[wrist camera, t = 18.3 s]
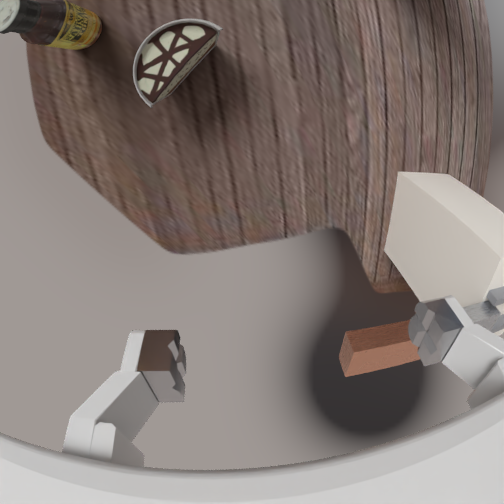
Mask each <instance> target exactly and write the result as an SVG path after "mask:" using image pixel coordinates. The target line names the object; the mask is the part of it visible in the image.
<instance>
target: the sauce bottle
mask: <svg viewBox="0 0 504 504" xmlns="http://www.w3.org/2000/svg"><path fill="white" fill-rule="evenodd" d="M101 30H102V24H101V20H100V18H99V16H97V15H96V14H95V13H93V12H91V11H89V10H87V9H84V8H82V7H80V6H77V5H75V4H73V3H70V2H68V1H65V0H36V1H34V0H3V1H1V2H0V33H3V34H5V33H8V32H16V33H19V34H20V36H21V38H22V39H23V40H24V41H26V42H28V43H31V44H38V45H41V46H51V47H58V48H66V49H73V50H77V49H85V48H87V47H89V46H91V45H92V44H93V43H95V41H96V40H97V39H98V37H99V35H100V33H101Z"/></svg>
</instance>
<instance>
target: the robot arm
mask: <svg viewBox="0 0 504 504" xmlns="http://www.w3.org/2000/svg"><path fill="white" fill-rule="evenodd" d="M415 313H416V314H415V315H414V316H413V317H412V318H411V320H410V322H409V325H408V334H409V337H410V340H411V342H412V344H414V345H416V346H417V347H418V351H417V353H418V355H419V357H420V359H421V361H422V363H423V364H424V366H427V365H431V364H434V363H438V362H441V361H442V363H443V364H444V365H445V366H447V367H448V368H449V369H451V371H453V372H454V373H455V374H456V375H458V376H459V377H460V378H461V379H462V380H464V381H465V382H466V383H467V384H468V385H469V386H471V387H472V388H473V389H474V391H473V392H472V393H471V395H470V396H469V397H468V399H467V401H468V404H469V406H470V408H471V410H469V411H467V412H465V413H462V414H460V415H458V416H456V417H454V418H451V419H449V420H447V421H445V422H442V423H440V424H438V425H435V426H432V427H430V428H427V429H425V430H422V431H420V432H417V433H414V434H411V435H409V436H406V437H403V438H400V439H397V440H394V441H391V442H387V443H384V444H381V445H377V446H374V447H370V448H367V449H363V450H360V451H355V452H351V453H347V454H343V455H338V456H333V457H329V458H324V459H319V460H313V461H308V462H301V463H294V464H287V465H279V466H270V467H260V468H249V469H229V470H180V469H163V468H150V467H144V455H143V453H142V452H141V451H140V450H139V449H138V448H136V447H135V446H134V445H133V444H132V443H131V442H132V441H133V439H134V438H135V437H136V435H137V434H138V432H139V431H140V429H141V428H142V427H143V425H144V424H145V422H146V421H147V420H148V419H149V417H150V416H151V414H152V413H153V412H154V410H155V409H156V407H157V406H158V405H159V403H158V402H184V394H185V383H184V381H183V378H182V377H183V376H184V375H185V374H186V356H185V351H184V347H183V346H182V345H180V335H179V332H178V330H132V331H131V333H130V334H129V337H128V341H127V345H126V349H125V353H124V357H123V361H122V365H121V369H120V371H115V372H114V373H113V374H112V375H111V376H110V377H109V378H108V379H107V380H106V381H105V382H104V383H103V384H102V385H101V386H100V387H99V388H98V389H97V390H96V391H95V392H94V393H93V394H92V395H91V396H90V397H89V398H88V399H87V400H86V401H85V402H84V403H83V404H82V405H81V406H80V407H79V408H78V409H77V410H76V411H75V412H74V413H73V414H72V415H71V416H70V420H69V424H68V428H67V433H66V437H65V441H64V446H63V451H62V452H58V451H54V450H51V449H47V448H44V447H41V446H37V445H34V444H31V443H27V442H25V441H22V440H19V439H16V438H13V437H10V436H8V435H5V434H3V433H0V504H504V339H502V338H500V337H499V336H497V335H496V334H494V333H492V332H490V331H489V330H487V329H485V328H484V327H482V326H480V325H479V324H474V323H473V322H472V320H471V319H470V317H469V316H468V315H467V313H466V312H465V311H464V309H463V308H462V306H461V305H460V304H459V302H458V301H457V300H456V298H455V297H453V296H452V295H450V296H445V297H441V298H435V299H431V300H426V301H421V302H419V303H418V304H417V305H416V307H415Z"/></svg>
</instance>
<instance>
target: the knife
mask: <svg viewBox="0 0 504 504" xmlns="http://www.w3.org/2000/svg"><path fill="white" fill-rule="evenodd" d="M462 308H463V309H464V311H465V312H466V313H467V315H468V316H469V317H470V319H471V320H472V322H473V323H474V324H479V325H480V326H482V327H484V328H485V329H487V330H489V331H491V329H492V328H493V326H494V324H495V323H496V321H497V319H498V318H499V316H500V314H501V313H500V311H499V310H498V309H497V308H496V306H493V305H492V304H491V302H490V301H489V300H487V301H484V302H480V303H477V304H473V305H470V306H466V307H462ZM409 322H410V320H407V321H402V322H397V323H392V324H387V325H382V326H377V327H371V328H366V329H360V330H354V331H348V332H346V333H345V337H344V341H343V344H342V348H341V351H340V355H339V359H340V362H341V365H342V368H343V371H344V374H345V377H348V376H353V375H358V374H362V373H367V372H372V371H376V370H380V369H385V368H389V367H393V366H397V365H401V364H404V363H408V362H412V361H415V360H419V359H420V357H419V355H418V353H417V351H418V347H417V346H416V345H414V344H412V342H411V340H410V337H409V334H408V325H409Z"/></svg>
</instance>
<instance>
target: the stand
mask: <svg viewBox="0 0 504 504" xmlns="http://www.w3.org/2000/svg"><path fill="white" fill-rule="evenodd" d="M384 251H385V252H386V254H387V255H388V256H389V258H390V259H391V261H392V262H393V263H394V265H395V266H396V267H397V269H398V270H399V272H400V273H401V274H402V276H403V277H404V279H405V280H406V282H407V283H408V284H409V286H410V287H411V289H412V290H413V292H414V293H415V295H416V296H417V297H418V299H419V301H420V302H421V301H426V300H431V299H435V298H441V297H445V296H450V295H452V296H453V297H455V298H456V300H457V301H458V302H459V304H460V305H461V306H462V307H466V306H470V305H473V304H477V303H480V302H484V301H487V300H489V301H490V302H491V304H492V305H493V306H496V308H497V309H498V310H499V311H500V313H501V314H500V316H499V318H498V319H497V321H496V323H495V324H494V326H493V328H492V329H491V331H490V332H492V333H494V334H496V335H497V336H500V335H502V334H503V332H504V213H503V212H501V211H500V210H499V209H498V208H496V207H495V206H494V205H492V204H491V203H490V202H488V201H487V200H485V199H484V198H483V197H481V196H480V195H479V194H477V193H476V192H474V191H473V190H471V189H470V188H468V187H467V186H466V185H464V184H463V183H461V182H460V181H458V180H457V179H455V178H453V177H452V176H450V175H449V174H438V173H419V172H398V176H397V183H396V190H395V196H394V202H393V208H392V214H391V219H390V224H389V229H388V234H387V239H386V244H385V249H384Z"/></svg>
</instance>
